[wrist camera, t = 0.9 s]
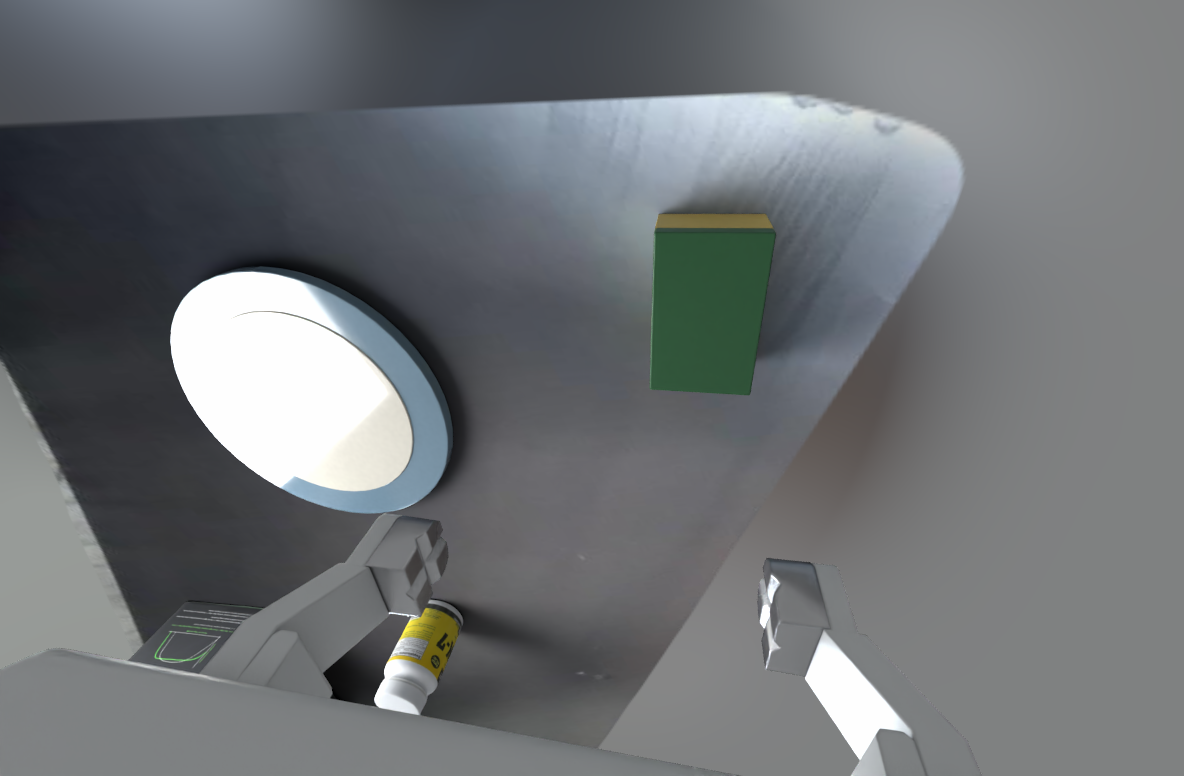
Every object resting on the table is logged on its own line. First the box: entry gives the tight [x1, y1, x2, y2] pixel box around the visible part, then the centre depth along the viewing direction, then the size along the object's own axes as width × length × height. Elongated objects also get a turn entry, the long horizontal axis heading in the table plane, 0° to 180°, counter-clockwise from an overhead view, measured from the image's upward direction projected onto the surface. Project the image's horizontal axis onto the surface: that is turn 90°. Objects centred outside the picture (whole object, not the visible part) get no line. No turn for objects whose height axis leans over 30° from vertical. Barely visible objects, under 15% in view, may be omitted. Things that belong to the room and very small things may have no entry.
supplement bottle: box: [374, 600, 463, 715], centre depth 43 cm, size 5×5×8 cm
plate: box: [171, 266, 453, 514], centre depth 34 cm, size 20×20×1 cm
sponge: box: [650, 214, 776, 395], centre depth 24 cm, size 8×5×3 cm, turn 3°
